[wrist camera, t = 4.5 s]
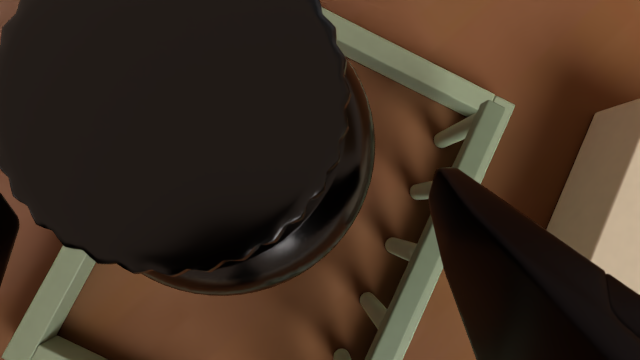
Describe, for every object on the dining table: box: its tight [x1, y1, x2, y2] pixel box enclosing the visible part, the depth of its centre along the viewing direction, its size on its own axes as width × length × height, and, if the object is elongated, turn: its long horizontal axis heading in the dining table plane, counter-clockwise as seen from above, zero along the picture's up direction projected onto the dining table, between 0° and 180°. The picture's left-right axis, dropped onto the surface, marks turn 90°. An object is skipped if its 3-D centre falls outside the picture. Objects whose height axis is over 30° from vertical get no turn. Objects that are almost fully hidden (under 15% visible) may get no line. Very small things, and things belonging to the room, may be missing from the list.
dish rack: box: [2, 8, 515, 360], centre depth 15 cm, size 18×14×5 cm
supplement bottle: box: [0, 0, 375, 296], centre depth 11 cm, size 7×7×12 cm
